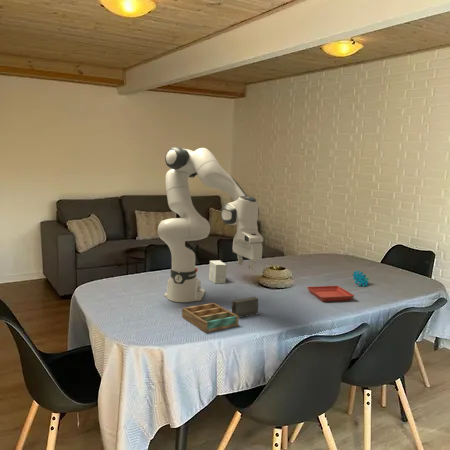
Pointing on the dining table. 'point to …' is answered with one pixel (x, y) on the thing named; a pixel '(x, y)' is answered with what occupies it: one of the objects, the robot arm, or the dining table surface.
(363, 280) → the gear
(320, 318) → the dining table surface
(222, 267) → the skincare box
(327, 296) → the plant saucer
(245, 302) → the panel
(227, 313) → the rack
